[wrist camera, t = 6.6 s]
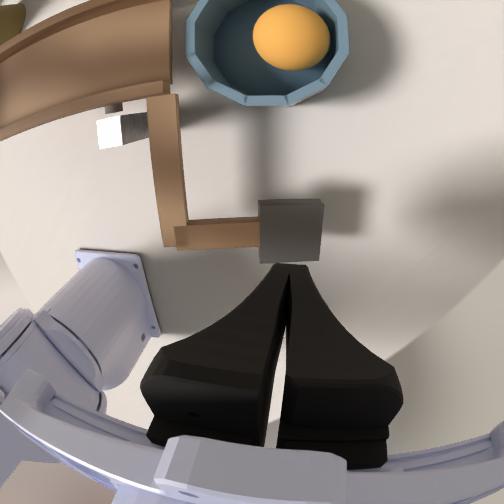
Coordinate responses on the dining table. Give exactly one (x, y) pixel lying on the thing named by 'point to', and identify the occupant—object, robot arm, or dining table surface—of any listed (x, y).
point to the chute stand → (122, 129)
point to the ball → (291, 37)
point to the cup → (248, 59)
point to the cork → (11, 21)
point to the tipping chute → (158, 110)
